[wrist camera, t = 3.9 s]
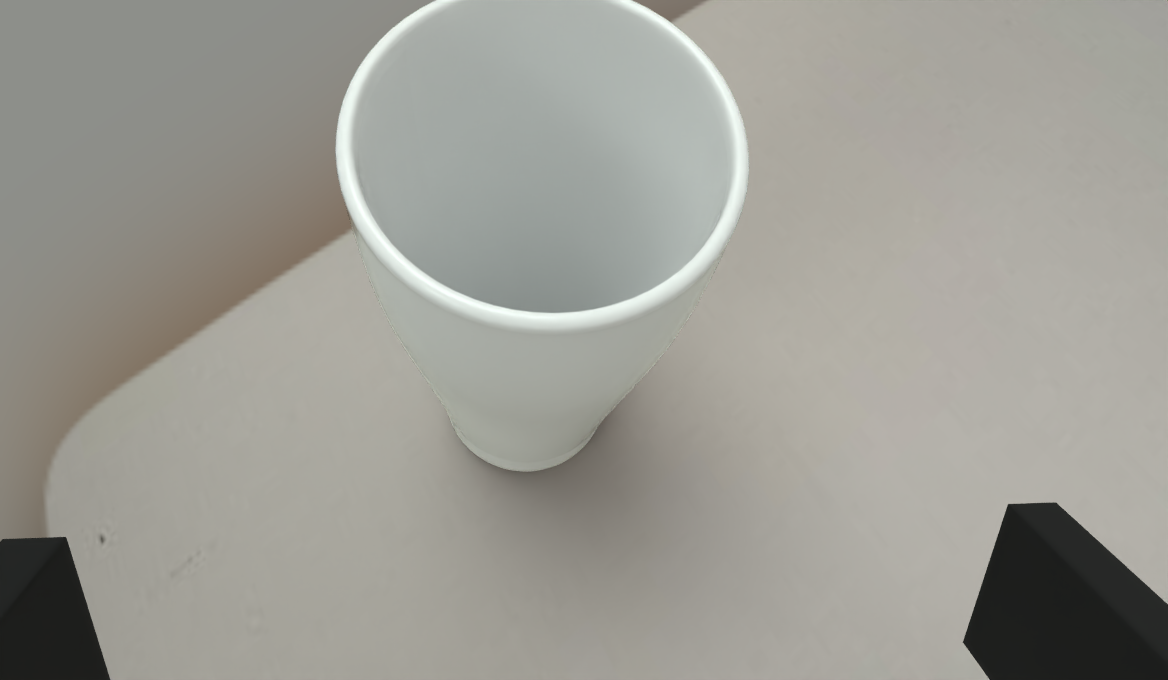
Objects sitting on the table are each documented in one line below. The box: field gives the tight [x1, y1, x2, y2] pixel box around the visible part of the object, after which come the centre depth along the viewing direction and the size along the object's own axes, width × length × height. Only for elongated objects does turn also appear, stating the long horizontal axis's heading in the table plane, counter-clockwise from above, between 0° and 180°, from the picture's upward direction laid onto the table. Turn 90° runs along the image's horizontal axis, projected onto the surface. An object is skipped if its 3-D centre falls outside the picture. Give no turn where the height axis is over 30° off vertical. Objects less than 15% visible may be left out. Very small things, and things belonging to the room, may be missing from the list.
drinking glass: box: [335, 0, 749, 472], centre depth 19 cm, size 7×7×15 cm
